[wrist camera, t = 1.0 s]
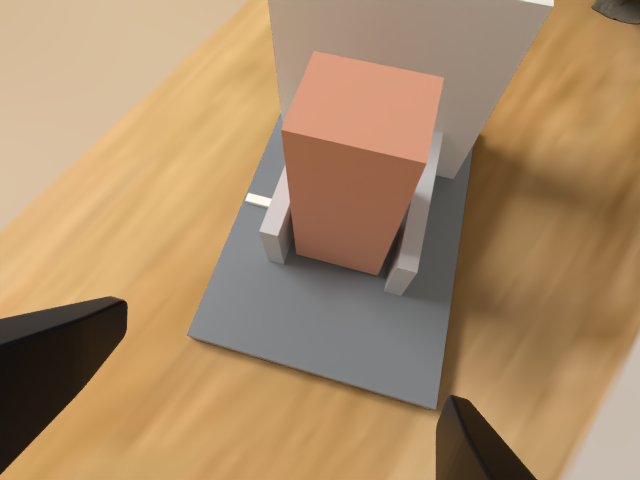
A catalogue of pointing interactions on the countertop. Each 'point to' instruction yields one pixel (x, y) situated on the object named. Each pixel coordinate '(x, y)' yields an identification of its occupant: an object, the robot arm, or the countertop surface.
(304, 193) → the plug
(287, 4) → the test rig
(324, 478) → the countertop surface
